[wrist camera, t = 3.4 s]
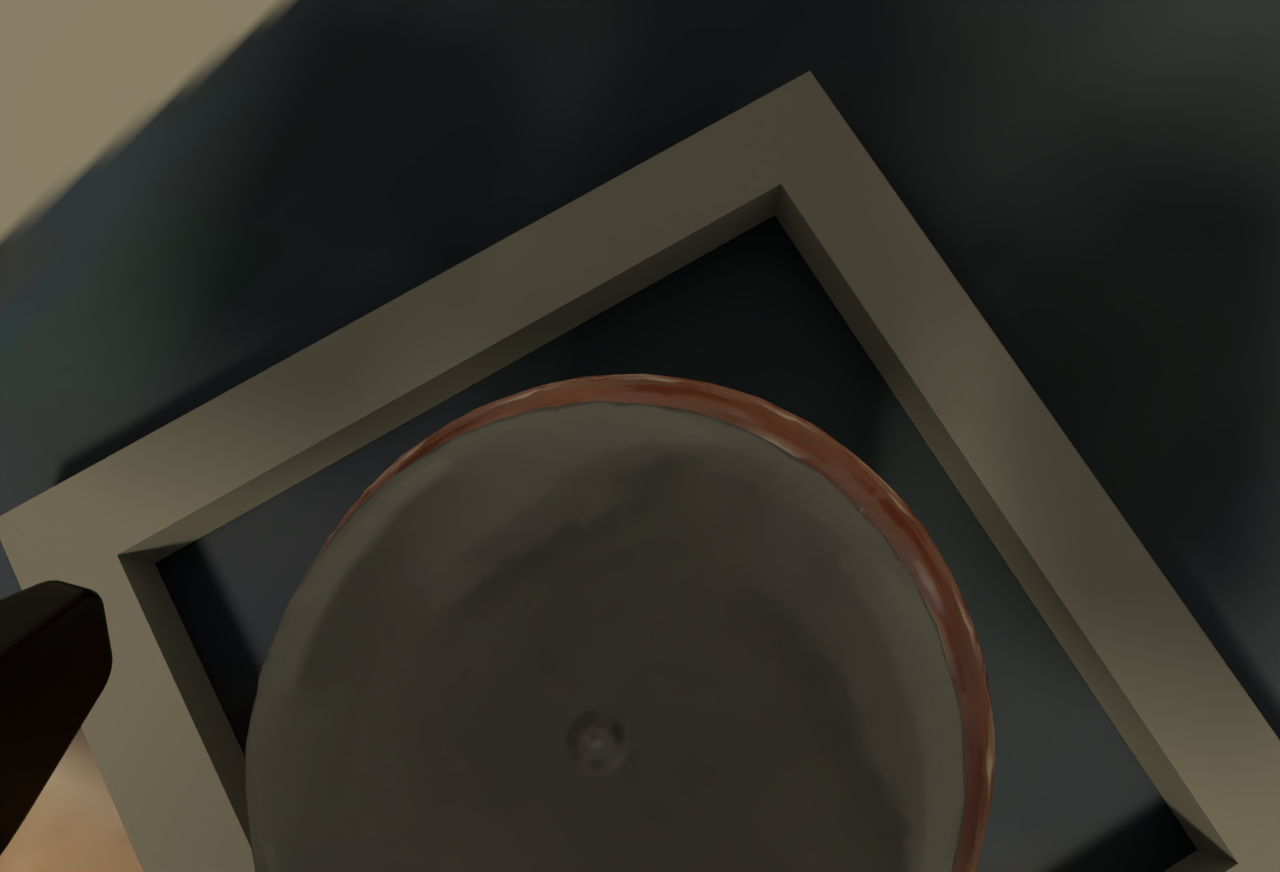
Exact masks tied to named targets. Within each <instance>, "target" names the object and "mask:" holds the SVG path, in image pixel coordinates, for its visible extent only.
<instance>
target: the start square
mask: <svg viewBox="0 0 1280 872" xmlns="http://www.w3.org/2000/svg"><path fill="white" fill-rule="evenodd" d="M774 215H775V216H776V218H777V219H778V221H779V222H780V224H781V225H782V227H783V228H784V230H785V231H786V233H787V234H788V236H789V237H790V239H791V240H792V242H793V243H794V245H795V246H796V248H797V249H798V251H799V252H800V254H801V255H802V257H803V258H804V260H805V261H806V263H807V264H808V266H809V267H810V269H811V270H812V272H813V273H814V275H815V276H816V278H817V280H818V281H819V283H820V284H821V286H822V287H823V289H824V290H825V292H826V293H827V295H828V296H829V298H830V299H831V301H832V302H833V304H834V305H835V307H836V308H837V310H838V311H839V313H840V314H841V316H842V317H843V319H844V320H845V322H846V323H847V325H848V326H849V328H850V329H851V331H852V332H853V334H854V335H855V337H856V338H857V340H858V341H859V343H860V344H861V346H862V347H863V349H864V350H865V352H866V353H867V355H868V356H869V358H870V359H871V361H872V362H873V364H874V365H875V367H876V368H877V370H878V371H879V373H880V374H881V376H882V377H883V379H884V380H885V382H886V383H887V385H888V386H889V388H890V389H891V391H892V392H893V394H894V395H895V397H896V398H897V400H898V401H899V403H900V404H901V406H902V407H903V409H904V410H905V412H906V413H907V415H908V416H909V418H910V419H911V421H912V422H913V424H914V425H915V427H916V428H917V430H918V431H919V433H920V434H921V436H922V437H923V439H924V440H925V442H926V443H927V445H928V446H929V448H930V449H931V451H932V452H933V454H934V455H935V457H936V458H937V460H938V461H939V463H940V464H941V466H942V467H943V469H944V470H945V472H946V473H947V475H948V476H949V478H950V479H951V481H952V482H953V484H954V485H955V487H956V488H957V490H958V491H959V493H960V494H961V496H962V497H963V499H964V500H965V502H966V503H967V505H968V506H969V508H970V509H971V511H972V512H973V514H974V515H975V517H976V518H977V520H978V521H979V523H980V524H981V526H982V527H983V529H984V530H985V532H986V533H987V535H988V536H989V538H990V539H991V541H992V542H993V544H994V545H995V547H996V548H997V550H998V551H999V553H1000V554H1001V556H1002V557H1003V559H1004V560H1005V562H1006V563H1007V565H1008V566H1009V568H1010V569H1011V571H1012V572H1013V574H1014V575H1015V577H1016V578H1017V580H1018V581H1019V583H1020V584H1021V586H1022V587H1023V589H1024V590H1025V592H1026V593H1027V595H1028V596H1029V598H1030V599H1031V601H1032V602H1033V604H1034V605H1035V607H1036V608H1037V610H1038V611H1039V613H1040V614H1041V616H1042V617H1043V619H1044V620H1045V622H1046V623H1047V625H1048V626H1049V628H1050V629H1051V631H1052V632H1053V634H1054V635H1055V637H1056V638H1057V640H1058V641H1059V643H1060V644H1061V646H1062V647H1063V649H1064V650H1065V652H1066V653H1067V655H1068V656H1069V658H1070V659H1071V661H1072V662H1073V664H1074V665H1075V667H1076V668H1077V670H1078V671H1079V673H1080V674H1081V676H1082V677H1083V679H1084V680H1085V682H1086V683H1087V685H1088V686H1089V688H1090V689H1091V691H1092V692H1093V694H1094V695H1095V697H1096V698H1097V700H1098V701H1099V703H1100V704H1101V706H1102V707H1103V709H1104V710H1105V712H1106V713H1107V715H1108V716H1109V718H1110V719H1111V721H1112V722H1113V724H1114V725H1115V727H1116V728H1117V730H1118V731H1119V733H1120V734H1121V736H1122V737H1123V739H1124V740H1125V742H1126V743H1127V745H1128V746H1129V748H1130V749H1131V751H1132V752H1133V754H1134V755H1135V757H1136V758H1137V760H1138V761H1139V763H1140V764H1141V766H1142V767H1143V769H1144V770H1145V772H1146V773H1147V775H1148V776H1149V778H1150V779H1151V781H1152V782H1153V784H1154V785H1155V787H1156V788H1157V790H1158V791H1159V793H1160V794H1161V796H1162V797H1163V799H1164V800H1165V802H1166V803H1167V805H1168V806H1169V808H1170V809H1171V811H1172V812H1173V814H1174V815H1175V817H1176V818H1177V820H1178V821H1179V823H1180V824H1181V826H1182V827H1183V829H1184V830H1185V832H1186V833H1187V835H1188V836H1189V838H1190V839H1191V841H1192V842H1193V844H1194V845H1195V847H1196V848H1197V850H1196V851H1195V852H1193V853H1192V854H1190V855H1189V856H1187V857H1185V858H1184V859H1182V860H1181V861H1179V862H1178V863H1176V864H1175V865H1173V866H1171V867H1170V868H1168V869H1167V870H1165V871H1164V872H1280V740H1279V739H1278V737H1277V736H1276V734H1275V733H1274V731H1273V730H1272V729H1271V727H1270V726H1269V724H1268V723H1267V721H1266V720H1265V719H1264V717H1263V716H1262V714H1261V713H1260V712H1259V710H1258V709H1257V707H1256V706H1255V704H1254V703H1253V702H1252V700H1251V699H1250V697H1249V696H1248V694H1247V693H1246V692H1245V690H1244V689H1243V687H1242V686H1241V684H1240V683H1239V682H1238V680H1237V679H1236V677H1235V676H1234V674H1233V673H1232V672H1231V670H1230V669H1229V667H1228V666H1227V664H1226V663H1225V662H1224V660H1223V659H1222V657H1221V656H1220V654H1219V653H1218V652H1217V650H1216V649H1215V647H1214V646H1213V645H1212V643H1211V642H1210V640H1209V639H1208V637H1207V636H1206V635H1205V633H1204V632H1203V630H1202V629H1201V627H1200V626H1199V625H1198V623H1197V622H1196V620H1195V619H1194V617H1193V616H1192V615H1191V613H1190V612H1189V610H1188V609H1187V607H1186V606H1185V605H1184V603H1183V602H1182V600H1181V599H1180V597H1179V596H1178V595H1177V593H1176V592H1175V590H1174V589H1173V587H1172V586H1171V585H1170V583H1169V582H1168V580H1167V579H1166V577H1165V576H1164V575H1163V573H1162V572H1161V570H1160V569H1159V568H1158V566H1157V565H1156V563H1155V562H1154V560H1153V559H1152V558H1151V556H1150V555H1149V553H1148V552H1147V550H1146V549H1145V548H1144V546H1143V545H1142V543H1141V542H1140V540H1139V539H1138V538H1137V536H1136V535H1135V533H1134V532H1133V530H1132V529H1131V528H1130V526H1129V525H1128V523H1127V522H1126V520H1125V519H1124V518H1123V516H1122V515H1121V513H1120V512H1119V510H1118V509H1117V508H1116V506H1115V505H1114V503H1113V502H1112V501H1111V499H1110V498H1109V496H1108V495H1107V493H1106V492H1105V491H1104V489H1103V488H1102V486H1101V485H1100V483H1099V482H1098V481H1097V479H1096V478H1095V476H1094V475H1093V473H1092V472H1091V471H1090V469H1089V468H1088V466H1087V465H1086V463H1085V462H1084V461H1083V459H1082V458H1081V456H1080V455H1079V453H1078V452H1077V451H1076V449H1075V448H1074V446H1073V445H1072V443H1071V442H1070V441H1069V439H1068V438H1067V436H1066V435H1065V434H1064V432H1063V431H1062V429H1061V428H1060V426H1059V425H1058V424H1057V422H1056V421H1055V419H1054V418H1053V416H1052V415H1051V414H1050V412H1049V411H1048V409H1047V408H1046V406H1045V405H1044V404H1043V402H1042V401H1041V399H1040V398H1039V396H1038V395H1037V394H1036V392H1035V391H1034V389H1033V388H1032V386H1031V385H1030V384H1029V382H1028V381H1027V379H1026V378H1025V376H1024V375H1023V374H1022V372H1021V371H1020V369H1019V368H1018V367H1017V365H1016V364H1015V362H1014V361H1013V359H1012V358H1011V357H1010V355H1009V354H1008V352H1007V351H1006V349H1005V348H1004V347H1003V345H1002V344H1001V342H1000V341H999V339H998V338H997V337H996V335H995V334H994V332H993V331H992V329H991V328H990V327H989V325H988V324H987V322H986V321H985V319H984V318H983V317H982V315H981V314H980V312H979V311H978V309H977V308H976V307H975V305H974V304H973V302H972V301H971V299H970V298H969V297H968V295H967V294H966V292H965V291H964V290H963V288H962V287H961V285H960V284H959V282H958V281H957V280H956V278H955V277H954V275H953V274H952V272H951V271H950V270H949V268H948V267H947V265H946V264H945V262H944V261H943V260H942V258H941V257H940V255H939V254H938V252H937V251H936V250H935V248H934V247H933V245H932V244H931V242H930V241H929V240H928V238H927V237H926V235H925V234H924V232H923V231H922V230H921V228H920V227H919V225H918V224H917V223H916V221H915V220H914V218H913V217H912V215H911V214H910V213H909V211H908V210H907V208H906V207H905V205H904V204H903V203H902V201H901V200H900V198H899V197H898V195H897V194H896V193H895V191H894V190H893V188H892V187H891V185H890V184H889V183H888V181H887V180H886V178H885V177H884V175H883V174H882V173H881V171H880V170H879V168H878V167H877V165H876V164H875V163H874V161H873V160H872V158H871V157H870V156H869V154H868V153H867V151H866V150H865V148H864V147H863V146H862V144H861V143H860V141H859V140H858V138H857V137H856V136H855V134H854V133H853V131H852V130H851V128H850V127H849V126H848V124H847V123H846V121H845V120H844V118H843V117H842V116H841V114H840V113H839V111H838V110H837V108H836V107H835V106H834V104H833V103H832V101H831V100H830V98H829V97H828V96H827V94H826V93H825V91H824V90H823V88H822V87H821V86H820V84H819V83H818V81H817V80H816V79H815V77H814V76H813V74H812V73H811V71H808V72H807V73H805V74H803V75H801V76H799V77H797V78H796V79H794V80H792V81H790V82H788V83H787V84H785V85H783V86H781V87H779V88H777V89H776V90H774V91H772V92H770V93H768V94H767V95H765V96H763V97H761V98H759V99H757V100H756V101H754V102H752V103H750V104H748V105H747V106H745V107H743V108H741V109H739V110H737V111H736V112H734V113H732V114H730V115H728V116H727V117H725V118H723V119H721V120H719V121H717V122H716V123H714V124H712V125H710V126H708V127H707V128H705V129H703V130H701V131H699V132H697V133H696V134H694V135H692V136H690V137H688V138H687V139H685V140H683V141H681V142H679V143H677V144H676V145H674V146H672V147H670V148H668V149H667V150H665V151H663V152H661V153H659V154H657V155H656V156H654V157H652V158H650V159H648V160H647V161H645V162H643V163H641V164H639V165H637V166H636V167H634V168H632V169H630V170H628V171H627V172H625V173H623V174H621V175H619V176H617V177H616V178H614V179H612V180H610V181H608V182H607V183H605V184H603V185H601V186H599V187H598V188H596V189H594V190H592V191H590V192H588V193H587V194H585V195H583V196H581V197H579V198H578V199H576V200H574V201H572V202H570V203H568V204H567V205H565V206H563V207H561V208H559V209H558V210H556V211H554V212H552V213H550V214H548V215H547V216H545V217H543V218H541V219H539V220H538V221H536V222H534V223H532V224H530V225H528V226H527V227H525V228H523V229H521V230H519V231H518V232H516V233H514V234H512V235H510V236H508V237H507V238H505V239H503V240H501V241H499V242H498V243H496V244H494V245H492V246H490V247H488V248H487V249H485V250H483V251H481V252H479V253H478V254H476V255H474V256H472V257H470V258H468V259H467V260H465V261H463V262H461V263H459V264H458V265H456V266H454V267H452V268H450V269H448V270H447V271H445V272H443V273H441V274H439V275H438V276H436V277H434V278H432V279H430V280H428V281H427V282H425V283H423V284H421V285H419V286H418V287H416V288H414V289H412V290H410V291H408V292H407V293H405V294H403V295H401V296H399V297H398V298H396V299H394V300H392V301H390V302H389V303H387V304H385V305H383V306H381V307H379V308H378V309H376V310H374V311H372V312H370V313H369V314H367V315H365V316H363V317H361V318H359V319H358V320H356V321H354V322H352V323H350V324H349V325H347V326H345V327H343V328H341V329H339V330H338V331H336V332H334V333H332V334H330V335H329V336H327V337H325V338H323V339H321V340H319V341H318V342H316V343H314V344H312V345H310V346H309V347H307V348H305V349H303V350H301V351H299V352H298V353H296V354H294V355H292V356H290V357H289V358H287V359H285V360H283V361H281V362H279V363H278V364H276V365H274V366H272V367H270V368H269V369H267V370H265V371H263V372H261V373H259V374H258V375H256V376H254V377H252V378H250V379H249V380H247V381H245V382H243V383H241V384H239V385H238V386H236V387H234V388H232V389H230V390H229V391H227V392H225V393H223V394H221V395H219V396H218V397H216V398H214V399H212V400H210V401H209V402H207V403H205V404H203V405H201V406H200V407H198V408H196V409H194V410H192V411H190V412H189V413H187V414H185V415H183V416H181V417H180V418H178V419H176V420H174V421H172V422H170V423H169V424H167V425H165V426H163V427H161V428H160V429H158V430H156V431H154V432H152V433H150V434H149V435H147V436H145V437H143V438H141V439H140V440H138V441H136V442H134V443H132V444H130V445H129V446H127V447H125V448H123V449H121V450H120V451H118V452H116V453H114V454H112V455H110V456H109V457H107V458H105V459H103V460H101V461H100V462H98V463H96V464H94V465H92V466H90V467H89V468H87V469H85V470H83V471H81V472H80V473H78V474H76V475H74V476H72V477H70V478H69V479H67V480H65V481H63V482H61V483H60V484H58V485H56V486H54V487H52V488H50V489H49V490H47V491H45V492H43V493H41V494H40V495H38V496H36V497H34V498H32V499H30V500H29V501H27V502H25V503H23V504H21V505H20V506H18V507H16V508H14V509H12V510H10V511H9V512H7V513H5V514H3V515H1V516H0V540H1V542H2V545H3V547H4V549H5V552H6V554H7V556H8V558H9V561H10V563H11V565H12V568H13V570H14V572H15V575H16V577H17V579H18V582H19V584H20V586H21V589H22V590H24V589H26V588H29V587H31V586H33V585H36V584H38V583H41V582H44V581H49V580H58V581H63V582H67V583H71V584H74V585H78V586H81V587H85V588H88V589H92V590H94V591H96V592H97V593H98V594H99V596H100V597H101V598H102V601H103V604H104V609H105V615H106V621H107V627H108V632H109V638H110V644H111V650H112V657H113V662H112V670H111V673H110V677H109V679H108V682H107V684H106V686H105V688H104V690H103V691H102V693H101V695H100V696H99V698H98V700H97V701H96V703H95V704H94V706H93V708H92V709H91V711H90V713H89V714H88V716H87V718H86V719H85V721H84V723H83V724H82V726H81V728H82V730H83V732H84V735H85V737H86V739H87V741H88V744H89V746H90V748H91V751H92V753H93V755H94V758H95V760H96V762H97V765H98V767H99V769H100V772H101V774H102V776H103V779H104V781H105V783H106V786H107V788H108V790H109V792H110V795H111V797H112V799H113V802H114V804H115V806H116V809H117V811H118V813H119V816H120V818H121V820H122V823H123V825H124V827H125V830H126V832H127V834H128V836H129V839H130V841H131V843H132V846H133V848H134V850H135V853H136V855H137V857H138V860H139V862H140V864H141V867H142V869H143V871H144V872H255V867H254V861H253V855H252V850H251V842H250V834H249V825H248V816H247V808H246V799H245V756H244V754H243V752H242V749H241V747H240V745H239V743H238V741H237V739H236V737H235V734H234V732H233V730H232V728H231V726H230V724H229V722H228V719H227V717H226V715H225V713H224V711H223V709H222V706H221V704H220V702H219V700H218V698H217V696H216V694H215V691H214V689H213V687H212V685H211V683H210V681H209V679H208V676H207V674H206V672H205V670H204V668H203V666H202V664H201V661H200V659H199V657H198V655H197V653H196V651H195V648H194V646H193V644H192V642H191V640H190V638H189V636H188V633H187V631H186V629H185V627H184V625H183V623H182V621H181V618H180V616H179V614H178V612H177V610H176V608H175V606H174V603H173V601H172V599H171V597H170V595H169V593H168V590H167V588H166V586H165V584H164V582H163V580H162V578H161V575H160V573H159V571H158V569H157V567H156V565H155V563H156V562H158V561H160V560H162V559H163V558H165V557H167V556H169V555H170V554H172V553H174V552H176V551H178V550H179V549H181V548H183V547H185V546H187V545H188V544H190V543H192V542H194V541H195V540H197V539H199V538H201V537H203V536H204V535H206V534H208V533H210V532H211V531H213V530H215V529H217V528H219V527H220V526H222V525H224V524H226V523H227V522H229V521H231V520H233V519H235V518H236V517H238V516H240V515H242V514H244V513H245V512H247V511H249V510H251V509H252V508H254V507H256V506H258V505H260V504H261V503H263V502H265V501H267V500H268V499H270V498H272V497H274V496H276V495H277V494H279V493H281V492H283V491H284V490H286V489H288V488H290V487H292V486H293V485H295V484H297V483H299V482H301V481H302V480H304V479H306V478H308V477H309V476H311V475H313V474H315V473H317V472H318V471H320V470H322V469H324V468H325V467H327V466H329V465H331V464H333V463H334V462H336V461H338V460H340V459H341V458H343V457H345V456H347V455H349V454H350V453H352V452H354V451H356V450H358V449H359V448H361V447H363V446H365V445H366V444H368V443H370V442H372V441H374V440H375V439H377V438H379V437H381V436H382V435H384V434H386V433H388V432H390V431H391V430H393V429H395V428H397V427H398V426H400V425H402V424H404V423H406V422H407V421H409V420H411V419H413V418H415V417H416V416H418V415H420V414H422V413H423V412H425V411H427V410H429V409H431V408H432V407H434V406H436V405H438V404H439V403H441V402H443V401H445V400H447V399H448V398H450V397H452V396H454V395H455V394H457V393H459V392H461V391H463V390H464V389H466V388H468V387H470V386H472V385H473V384H475V383H477V382H479V381H480V380H482V379H484V378H486V377H488V376H489V375H491V374H493V373H495V372H496V371H498V370H500V369H502V368H504V367H505V366H507V365H509V364H511V363H512V362H514V361H516V360H518V359H520V358H521V357H523V356H525V355H527V354H529V353H530V352H532V351H534V350H536V349H537V348H539V347H541V346H543V345H545V344H546V343H548V342H550V341H552V340H553V339H555V338H557V337H559V336H561V335H562V334H564V333H566V332H568V331H569V330H571V329H573V328H575V327H577V326H578V325H580V324H582V323H584V322H586V321H587V320H589V319H591V318H593V317H594V316H596V315H598V314H600V313H602V312H603V311H605V310H607V309H609V308H610V307H612V306H614V305H616V304H618V303H619V302H621V301H623V300H625V299H626V298H628V297H630V296H632V295H634V294H635V293H637V292H639V291H641V290H643V289H644V288H646V287H648V286H650V285H651V284H653V283H655V282H657V281H659V280H660V279H662V278H664V277H666V276H667V275H669V274H671V273H673V272H675V271H676V270H678V269H680V268H682V267H683V266H685V265H687V264H689V263H691V262H692V261H694V260H696V259H698V258H700V257H701V256H703V255H705V254H707V253H708V252H710V251H712V250H714V249H716V248H717V247H719V246H721V245H723V244H724V243H726V242H728V241H730V240H732V239H733V238H735V237H737V236H739V235H740V234H742V233H744V232H746V231H748V230H749V229H751V228H753V227H755V226H757V225H758V224H760V223H762V222H764V221H765V220H767V219H769V218H771V217H773V216H774Z"/></svg>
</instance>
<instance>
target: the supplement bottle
mask: <svg viewBox="0 0 1280 872" xmlns="http://www.w3.org/2000/svg"><path fill="white" fill-rule="evenodd" d="M994 744H995V731H994V722H993V713H992V705H991V698H990V693H989V688H988V679H987V670H986V666H985V661H984V657H983V652H982V649H981V647H980V644H979V642H978V636H977V632H976V630H975V628H974V626H973V624H972V621H971V618H970V616H969V613H968V610H967V606H966V603H965V601H964V599H963V597H962V595H961V593H960V591H959V588H958V586H957V584H956V582H955V580H954V578H953V576H952V574H951V572H950V570H949V568H948V567H947V565H946V563H945V561H944V559H943V557H942V556H941V554H940V553H939V551H938V549H937V548H936V546H935V545H934V543H933V542H932V540H931V538H930V537H929V535H928V533H927V532H926V530H925V528H924V527H923V525H922V524H921V523H920V521H919V520H918V519H917V518H916V517H915V516H914V514H913V513H912V511H911V510H910V508H909V507H908V506H907V505H906V503H905V502H904V501H903V500H902V499H901V498H900V497H899V496H898V495H897V494H896V493H895V492H894V491H893V490H892V489H891V488H890V486H889V485H888V484H886V483H885V482H884V481H883V480H882V479H881V478H880V477H879V476H878V475H877V474H876V473H875V472H874V471H873V470H872V469H871V468H869V467H868V466H867V465H866V464H865V463H864V462H863V461H862V460H861V459H859V458H858V457H857V456H856V455H855V454H854V453H852V452H851V451H850V450H848V449H847V448H846V447H844V446H843V445H841V444H840V443H839V442H837V441H836V440H835V439H833V438H832V437H831V436H830V435H828V434H827V433H826V432H824V431H823V430H821V429H820V428H818V427H817V426H815V425H814V424H812V423H810V422H808V421H806V420H804V419H802V418H800V417H798V416H796V415H794V414H792V413H790V412H788V411H786V410H784V409H782V408H780V407H778V406H776V405H774V404H772V403H770V402H768V401H766V400H764V399H762V398H759V397H756V396H753V395H750V394H747V393H743V392H740V391H737V390H734V389H730V388H727V387H723V386H720V385H716V384H713V383H707V382H701V381H696V380H690V379H684V378H677V377H669V376H661V375H651V374H617V375H598V376H584V377H578V378H574V379H569V380H564V381H559V382H554V383H550V384H545V385H541V386H538V387H534V388H531V389H528V390H525V391H522V392H519V393H516V394H513V395H510V396H507V397H504V398H502V399H499V400H496V401H494V402H491V403H489V404H486V405H484V406H481V407H479V408H476V409H474V410H472V411H471V412H469V413H467V414H466V415H464V416H462V417H460V418H458V419H456V420H454V421H452V422H450V423H448V424H447V425H445V426H444V427H443V428H441V429H440V430H438V431H437V432H435V433H433V434H432V435H430V436H429V437H427V438H426V439H425V440H423V441H422V442H420V443H419V444H418V445H416V446H415V447H413V448H412V449H410V450H409V451H407V452H406V453H404V454H403V455H401V456H400V457H399V458H398V460H397V461H396V462H395V463H394V464H393V465H391V466H390V467H389V468H388V469H387V470H386V471H384V472H383V473H382V474H381V475H380V476H379V477H378V478H377V479H376V481H375V482H374V483H373V484H372V485H371V486H369V487H368V488H367V489H366V490H365V491H364V493H363V494H362V496H361V497H360V498H359V499H358V501H357V502H356V503H355V504H354V505H353V506H352V507H351V508H350V509H349V510H348V511H347V513H346V514H345V516H344V517H343V519H342V520H341V522H340V523H339V524H338V526H337V527H336V529H335V530H334V532H333V533H332V534H331V535H330V536H329V537H328V539H327V540H326V541H325V543H324V545H323V547H322V549H321V551H320V553H319V554H318V555H317V556H316V558H315V559H314V560H313V561H312V563H311V565H310V567H309V569H308V571H307V573H306V575H305V577H304V578H303V580H302V581H301V583H300V584H299V585H298V587H297V588H296V590H295V591H294V593H293V594H292V596H291V598H290V600H289V602H288V604H287V607H286V609H285V611H284V613H283V615H282V618H281V622H280V624H279V626H278V628H277V630H276V632H275V634H274V636H273V638H272V642H271V645H270V648H269V651H268V654H267V657H266V659H265V662H264V664H263V667H262V669H261V672H260V674H259V681H258V690H257V694H256V697H255V701H254V704H253V708H252V711H251V717H250V723H249V729H248V735H247V741H246V753H245V799H246V808H247V816H248V825H249V834H250V842H251V850H252V855H253V861H254V867H255V872H975V871H976V868H977V864H978V860H979V856H980V852H981V848H982V844H983V840H984V835H985V830H986V825H987V820H988V815H989V810H990V805H991V800H992V791H993V781H994V770H995V760H996V756H995V750H994Z"/></svg>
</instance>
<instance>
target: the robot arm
mask: <svg viewBox="0 0 1280 872" xmlns="http://www.w3.org/2000/svg"><path fill="white" fill-rule="evenodd" d="M112 662H113V657H112V650H111V644H110V638H109V632H108V627H107V621H106V615H105V609H104V604H103V601H102V598H101V597H100V596H99V594H98V593H97V592H96V591H94V590H92V589H88V588H85V587H81V586H78V585H74V584H71V583H67V582H63V581H58V580H49V581H44V582H41V583H38V584H36V585H33V586H31V587H29V588H26V589H24V590H22V591H19V592H17V593H15V594H12V595H10V596H7V597H5V598H3V599H0V855H1V854H2V852H3V851H4V850H5V848H6V847H7V846H8V844H9V842H10V841H11V839H12V838H13V836H14V835H15V833H16V832H17V830H18V829H19V827H20V825H21V824H22V822H23V821H24V819H25V818H26V816H27V814H28V813H29V811H30V809H31V808H32V806H33V805H34V803H35V801H36V800H37V798H38V796H39V795H40V793H41V791H42V790H43V788H44V787H45V785H46V783H47V782H48V780H49V778H50V777H51V775H52V773H53V772H54V770H55V768H56V767H57V765H58V764H59V762H60V760H61V759H62V757H63V755H64V754H65V752H66V750H67V749H68V747H69V745H70V744H71V742H72V741H73V739H74V737H75V736H76V734H77V732H78V731H79V729H80V727H81V726H82V724H83V723H84V721H85V719H86V718H87V716H88V714H89V713H90V711H91V709H92V708H93V706H94V704H95V703H96V701H97V700H98V698H99V696H100V695H101V693H102V691H103V690H104V688H105V686H106V684H107V682H108V679H109V677H110V673H111V670H112Z"/></svg>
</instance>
